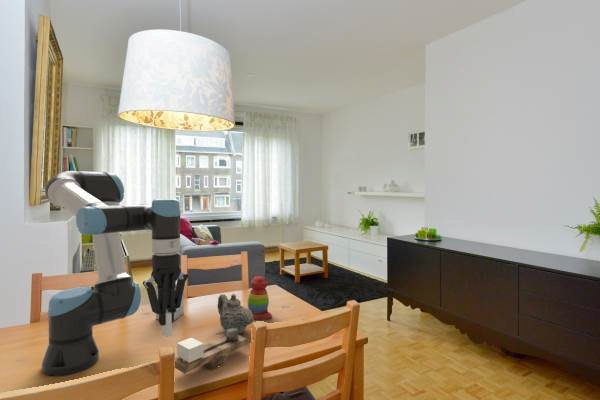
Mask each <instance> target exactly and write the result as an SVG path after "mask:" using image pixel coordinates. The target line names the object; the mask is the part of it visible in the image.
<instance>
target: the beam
mask: <svg viewBox="0 0 600 400" xmlns="http://www.w3.org/2000/svg"><path fill="white" fill-rule="evenodd" d="M225 333H226V336H223V337H222V338H219V339H216V340H213V341H211V342H208V343H207V344H205V345H204V356H203V357H201V358H199V359H196V360H194V361H192V362H190V363H189V362H187V361H185V362H183V359H182V358H180V357H178V356H176V357H174V358H175V367H174V368H175V369H176V370H178V371H180V372H181V373H183V374H184V375H185V374H187V373H188V372H191V371H193V370H196V369H197V368H199V367H202V366H204V367H206V368H207V369H209V368H210V369H209V370H211V371H213V370H215V369H218V368H219V367H218V366H220V367H222V366H224V365H225V363H226V355H227V354H230V353H231V352H234V351H236V350H238V349H240V348H242V347H244V346H247V345H248V338H247V337H244V336H242V335H240V334H239V333H238V329H235V328H231V329H228V330H227V331H225ZM223 364H224V365H223ZM221 365H222V366H221ZM214 368H215V369H214ZM212 369H213V370H212Z"/></svg>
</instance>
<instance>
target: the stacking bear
mask: <svg viewBox="0 0 600 400" xmlns="http://www.w3.org/2000/svg"><path fill="white" fill-rule="evenodd" d="M250 284H251V290H250V291H249V293H248V296H247V308H248V309H249V310H251V312H252V314H253V317H254V318H253V319H254V320H258V321H260V320H261V321H262V320H269V319H272V318H273V315H272V313H271V312H269V310H268V309H269V308H268V307H269V303H270V301H269V294H268V290H267V289H266V288H267V287H268V284H269V283H268V281H267V280H266V279H265V278H264V277H263V276H259V275H254V277H253V278H252V279H251V282H250Z"/></svg>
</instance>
